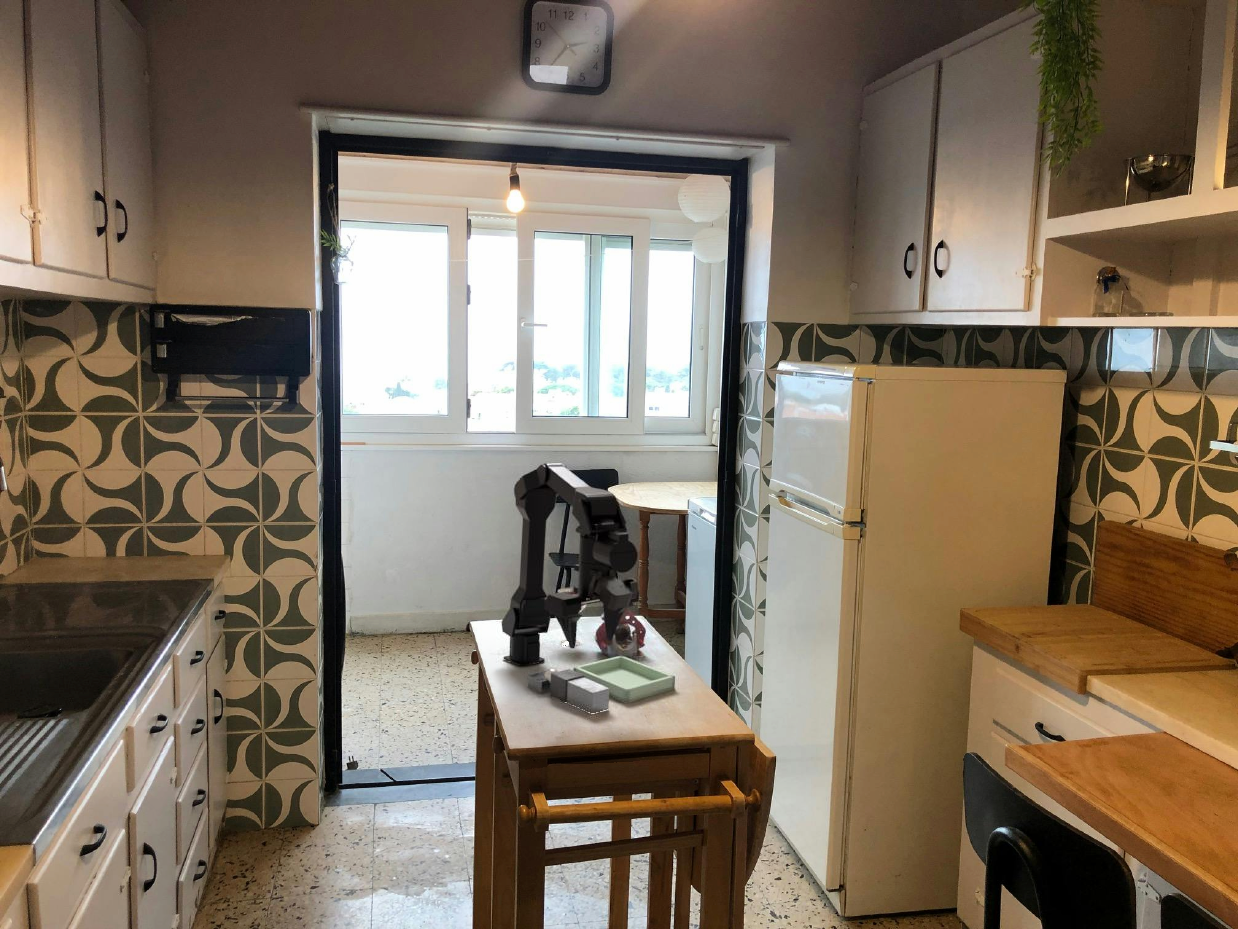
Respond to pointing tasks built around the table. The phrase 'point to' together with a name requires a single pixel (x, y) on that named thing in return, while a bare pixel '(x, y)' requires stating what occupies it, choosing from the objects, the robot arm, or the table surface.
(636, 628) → the brake caliper
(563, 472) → the robot arm
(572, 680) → the strut
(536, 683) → the stud mount
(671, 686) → the tray
